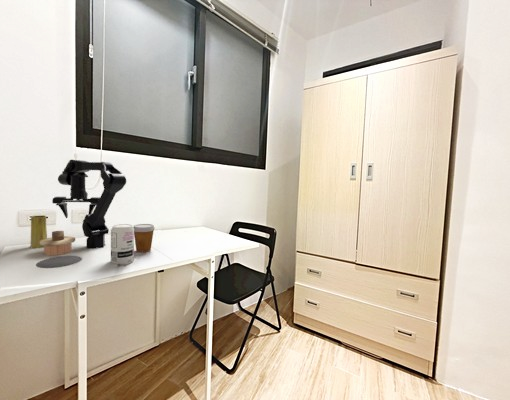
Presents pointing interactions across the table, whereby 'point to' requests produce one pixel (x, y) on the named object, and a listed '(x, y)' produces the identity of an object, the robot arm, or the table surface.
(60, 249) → the bowl
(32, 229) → the vase
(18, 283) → the table surface
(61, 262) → the mat
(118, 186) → the robot arm
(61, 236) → the lid
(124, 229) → the supplement can
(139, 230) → the disposable coffee cup
